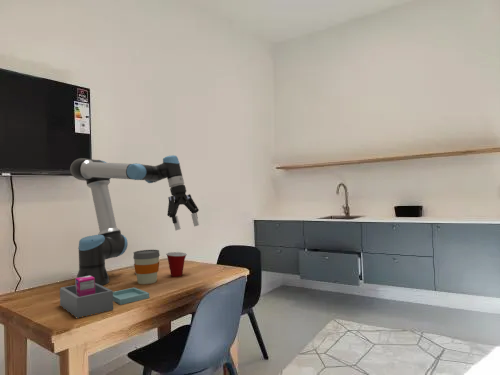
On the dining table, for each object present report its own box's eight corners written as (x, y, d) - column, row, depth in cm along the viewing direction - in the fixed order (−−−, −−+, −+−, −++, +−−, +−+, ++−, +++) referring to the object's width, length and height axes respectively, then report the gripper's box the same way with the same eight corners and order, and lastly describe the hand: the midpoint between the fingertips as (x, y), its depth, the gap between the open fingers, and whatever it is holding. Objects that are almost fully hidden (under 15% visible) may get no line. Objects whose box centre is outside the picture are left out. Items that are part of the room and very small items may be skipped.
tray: (106, 297, 141) (106, 293, 141) (134, 291, 149) (134, 287, 149) (120, 304, 131) (120, 299, 131) (149, 297, 139) (149, 293, 139)
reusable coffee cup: (164, 279, 172) (164, 249, 173) (152, 285, 160) (151, 253, 160) (142, 278, 175) (142, 249, 175) (128, 284, 163) (128, 253, 163)
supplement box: (75, 307, 129) (75, 277, 129) (92, 304, 133) (91, 275, 133) (79, 311, 125) (78, 280, 125) (96, 307, 128) (95, 277, 129)
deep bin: (60, 305, 132) (59, 287, 132) (93, 298, 141) (92, 281, 141) (77, 318, 117) (76, 298, 117) (113, 309, 125) (112, 290, 125)
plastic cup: (185, 277, 173) (184, 254, 174) (164, 278, 174) (163, 254, 174) (189, 273, 184) (188, 251, 185) (169, 273, 185) (169, 251, 185)
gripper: (164, 184, 155) (175, 229, 152) (198, 183, 176) (209, 222, 174) (153, 189, 158) (163, 233, 156) (188, 187, 180) (198, 225, 177)
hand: (187, 227), depth 165 cm, fingers open, 13 cm apart
